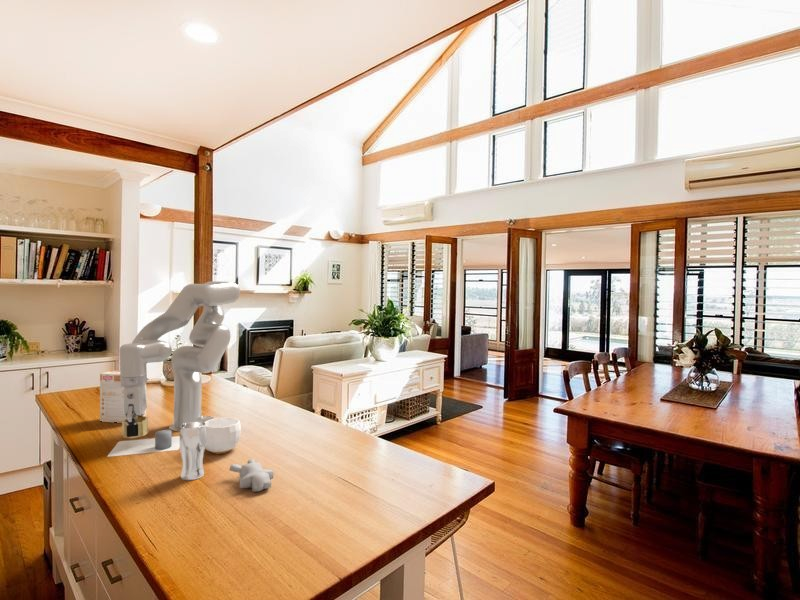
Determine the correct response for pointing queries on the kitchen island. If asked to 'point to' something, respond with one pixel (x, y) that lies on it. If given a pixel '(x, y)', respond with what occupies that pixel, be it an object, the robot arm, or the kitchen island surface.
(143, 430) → the brass ring
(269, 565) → the kitchen island surface
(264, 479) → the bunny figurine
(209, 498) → the kitchen island surface
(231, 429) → the cup
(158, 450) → the stand
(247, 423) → the kitchen island surface
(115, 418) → the coffeecake box
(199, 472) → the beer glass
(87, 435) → the kitchen island surface
